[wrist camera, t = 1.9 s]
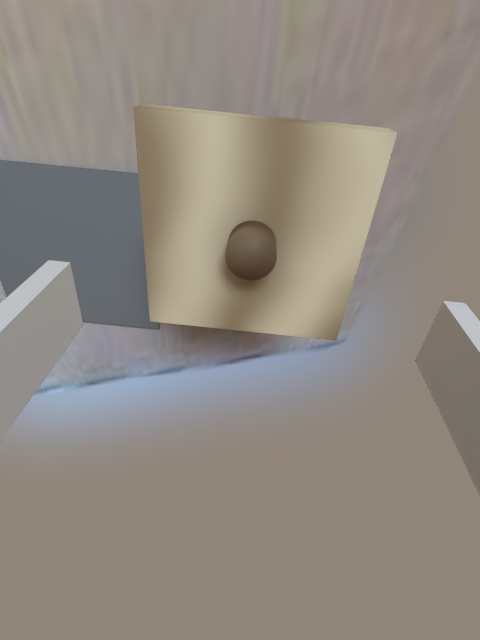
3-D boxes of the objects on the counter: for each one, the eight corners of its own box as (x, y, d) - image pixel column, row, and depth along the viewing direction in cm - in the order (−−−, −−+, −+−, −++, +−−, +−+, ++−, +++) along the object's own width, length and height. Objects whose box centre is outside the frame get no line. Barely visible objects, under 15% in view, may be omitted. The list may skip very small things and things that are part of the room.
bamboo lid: (155, 308, 23) (142, 338, 20) (142, 103, 16) (120, 111, 14) (332, 326, 23) (340, 358, 20) (388, 128, 16) (409, 139, 14)
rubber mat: (14, 312, 40) (12, 314, 40) (-39, 156, 31) (-42, 156, 31) (159, 327, 40) (158, 329, 40) (150, 174, 31) (149, 175, 31)
